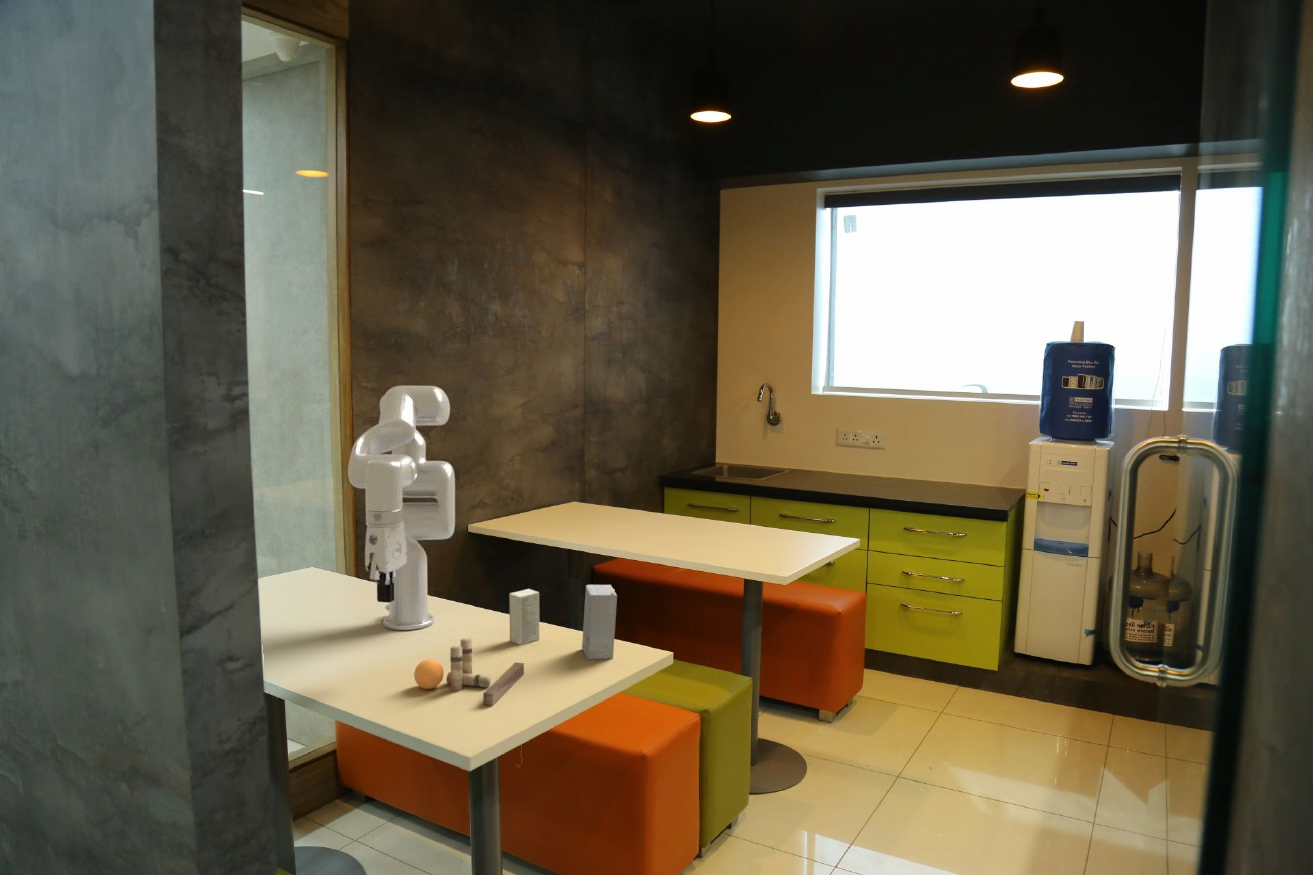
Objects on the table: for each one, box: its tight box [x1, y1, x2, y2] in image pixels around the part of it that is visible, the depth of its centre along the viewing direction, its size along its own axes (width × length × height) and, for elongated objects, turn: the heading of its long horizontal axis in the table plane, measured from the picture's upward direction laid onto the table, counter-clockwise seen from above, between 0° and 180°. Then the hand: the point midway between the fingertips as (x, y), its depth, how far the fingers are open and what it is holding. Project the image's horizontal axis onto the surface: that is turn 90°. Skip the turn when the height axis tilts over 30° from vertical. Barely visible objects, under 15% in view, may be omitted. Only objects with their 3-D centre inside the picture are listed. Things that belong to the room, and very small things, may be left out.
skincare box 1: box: [508, 588, 540, 646], centre depth 216 cm, size 6×4×12 cm
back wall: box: [482, 662, 525, 707], centre depth 185 cm, size 2×18×2 cm, turn 168°
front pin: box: [446, 671, 492, 688], centre depth 187 cm, size 2×2×9 cm
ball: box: [413, 658, 445, 690], centre depth 185 cm, size 6×6×6 cm
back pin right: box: [449, 645, 463, 692], centre depth 184 cm, size 2×2×9 cm
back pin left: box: [460, 637, 473, 674], centre depth 189 cm, size 2×2×9 cm
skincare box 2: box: [581, 584, 618, 661], centre depth 207 cm, size 8×7×16 cm
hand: (385, 600), depth 189 cm, fingers closed
